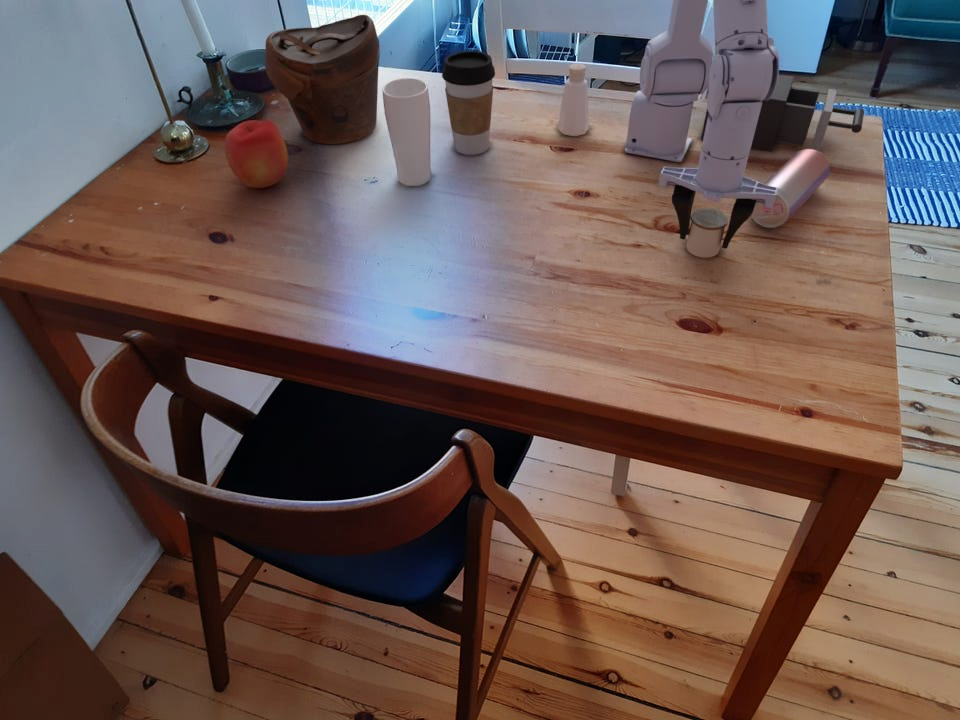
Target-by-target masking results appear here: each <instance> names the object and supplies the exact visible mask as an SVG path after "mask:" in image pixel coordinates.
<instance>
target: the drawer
mask: <svg viewBox="0 0 960 720" xmlns="http://www.w3.org/2000/svg"><path fill="white" fill-rule="evenodd" d="M820 92H821V91H820V90H818V89H811V88H804V87H797V86H792V87H791V89H790V92H789V95H788V98H787V101H786V104H785V108H784V111H783V115H782V118H781V122H780V125H779V129H778V133H777V136H776V140H775V142H777V143H784V144H789V145H794V146H801V147H804V146H805V143H806V139H807V136H808V133H809V130H810V126H811V124H812V120H813V118H814V114H815V111H816V104H817V102H818V98H819V96H820ZM837 93H838V90H837V89H832V88H829V89H828V91H827V94H826V98H825V100H824V103H823V107H822V110H821V113H820V117H819V120H818V122H817V126H816V129H815V132H814V137H813V140H812V145H811V149H813V150H816V151H819V152H820V151H821V147H822V145H823V144H822V143H823V140H824V138H825V134H826V131H827V129H828V126H829V127H835V128H841V129H849V130H851V132H852V133H853V134H858V133H860V132H861V131H862V128H863V123H864V122H863V121H864V115H865V110H864V109H863V108H862V107H861V108H860V107H859V108H856V109H847V108H841V107H834V105H835V102H836V96H837ZM833 113H835V114H841V115H848V116H853V118H852V123H847V122H842V121H841V122H840V121H836V120H831V117H832V115H833Z"/></svg>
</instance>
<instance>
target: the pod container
mask: <svg viewBox="0 0 960 720" xmlns="http://www.w3.org/2000/svg"><path fill="white" fill-rule="evenodd" d="M728 224H729V217H728V215H727V214H726V213H725V212H723V211H722V210H720V209H717V208H713V207H700V208H697V209H695V210H693V211H692V212H691V218H690V225H689V230H688V236H687V241H686V246H685V247H686V250H687V252H688V253H690V254H691V255H692V256H695V257H699V258H707V259H708V258H713V257H715V256H716V255H718V254H719V252H720V248H721V246H722V245H721V244H722V242H723V237H724V233H725V228H726V227H727V225H728Z"/></svg>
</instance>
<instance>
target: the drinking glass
mask: <svg viewBox="0 0 960 720" xmlns="http://www.w3.org/2000/svg"><path fill="white" fill-rule="evenodd" d="M428 87H429V86H428V84H427V83H426V81H424V80H421V79H419V78H411V77H404V78H396V79H394V80H391V81H389V82H387V83H385V84H384V85H383V87H382V89H381V90H382V101H383V102H382V103H383V111H384V117H385V121H386V126H387V127H386V128H387V130H388V131H387V132H388V137H389V140H390V144H391V149H392V153H393V157H394V163H395V167H396V176H397V179H398V181H399V182H400V184H402V185H404V186H406V187H419V186H423V185H425V184H427V183H428V182H429V181H430V179H432V169H431V102H430V94H429V88H428Z"/></svg>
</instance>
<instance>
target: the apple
mask: <svg viewBox="0 0 960 720" xmlns="http://www.w3.org/2000/svg"><path fill="white" fill-rule="evenodd" d="M224 154H225V159H226V161H227V164H228V166H229V167H230V169H231V171H232V173H233V174H234V175H235V177H236V178H237V179H238V180H239V181H240V182H241V183H243V184H244V185H246V186H247V187H250V188H254V189H265V188H268V187H271V186H274V185H276V184H278V183H279V182H280V181H281V180H282V179H283V177H284V176H285V174H286V171H287V168H288V163H289V154H288V149H287V144H286V142H285V139H284V137H283V135H282V133H281V131H280V129H279V128H278V126H277V125H276V124H275V123H274V122H273V121H271V120H257V119H252V120H246V121H243V122H241V123H239V124H237V125H236V126H235V127H234V128H232V129H231V130H230V131H229V132H228V133H227V134H226V137H225V139H224Z"/></svg>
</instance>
